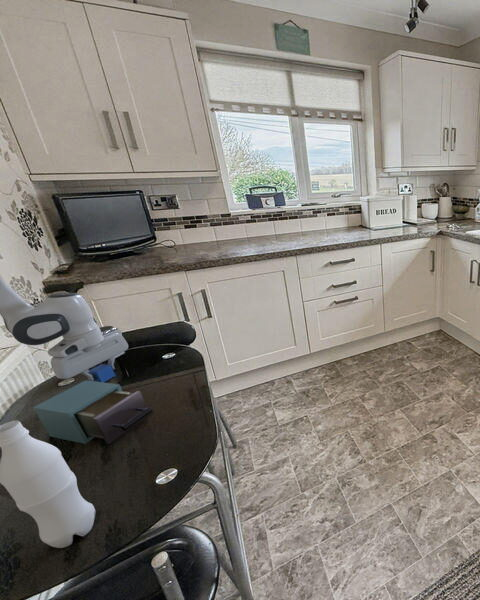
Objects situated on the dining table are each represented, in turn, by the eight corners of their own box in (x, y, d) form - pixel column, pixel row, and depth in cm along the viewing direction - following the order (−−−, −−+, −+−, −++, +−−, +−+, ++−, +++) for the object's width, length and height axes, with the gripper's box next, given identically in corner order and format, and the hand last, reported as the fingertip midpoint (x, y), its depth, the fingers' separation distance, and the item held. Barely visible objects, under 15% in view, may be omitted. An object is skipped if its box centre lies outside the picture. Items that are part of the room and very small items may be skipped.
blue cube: (93, 382, 111) (87, 371, 110) (106, 374, 115) (101, 364, 114) (102, 383, 110) (96, 372, 109) (115, 375, 114) (110, 365, 113)
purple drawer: (164, 416, 89) (153, 393, 86) (123, 447, 80) (110, 421, 77) (118, 409, 94) (107, 386, 91) (75, 437, 84) (61, 413, 82)
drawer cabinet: (132, 412, 94) (119, 384, 90) (85, 444, 83) (68, 413, 80) (99, 407, 98) (85, 380, 94) (50, 436, 87) (32, 407, 83)
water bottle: (76, 514, 64) (10, 412, 55) (110, 513, 64) (50, 410, 55) (37, 554, 58) (-45, 445, 49) (75, 553, 57) (0, 443, 48)
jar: (109, 364, 122) (95, 336, 118) (92, 363, 124) (78, 335, 120) (131, 352, 131) (119, 325, 126) (115, 351, 132) (103, 325, 128)
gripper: (111, 325, 117) (126, 358, 122) (40, 354, 99) (61, 391, 104) (124, 325, 116) (138, 359, 120) (54, 355, 97) (74, 393, 102)
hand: (102, 374), depth 112 cm, fingers closed on blue cube, 4 cm apart
